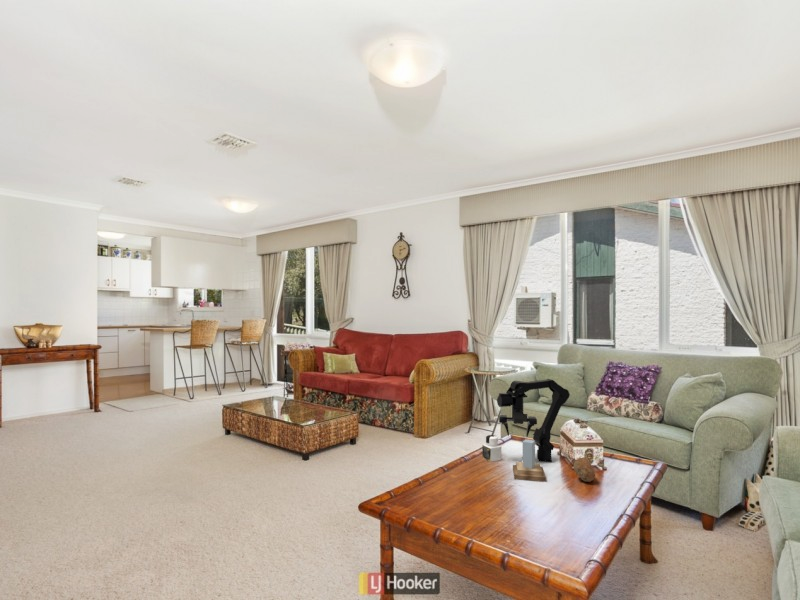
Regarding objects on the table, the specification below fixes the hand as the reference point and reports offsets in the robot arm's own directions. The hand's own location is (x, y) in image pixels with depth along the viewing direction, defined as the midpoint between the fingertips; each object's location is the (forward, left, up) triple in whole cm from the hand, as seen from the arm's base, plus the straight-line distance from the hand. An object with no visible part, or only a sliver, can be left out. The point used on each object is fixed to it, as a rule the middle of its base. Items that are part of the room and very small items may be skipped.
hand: (517, 436), depth 235 cm
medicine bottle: (+13, -2, -13) cm, 19 cm away
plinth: (-4, +18, -13) cm, 23 cm away
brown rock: (-29, +19, -13) cm, 37 cm away
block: (-4, +18, -9) cm, 21 cm away
